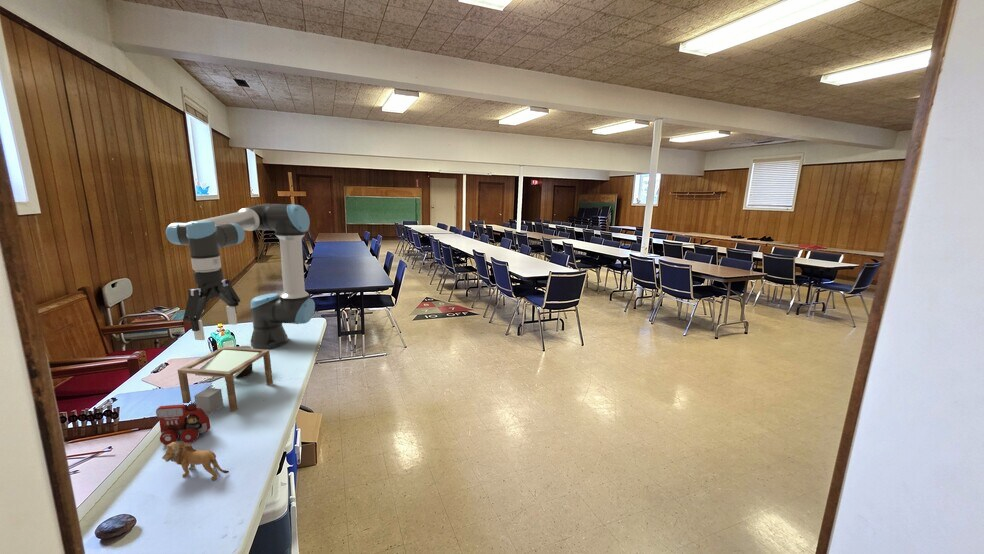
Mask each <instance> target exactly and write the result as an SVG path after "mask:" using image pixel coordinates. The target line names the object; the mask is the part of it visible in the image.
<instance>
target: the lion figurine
mask: <svg viewBox="0 0 984 554" xmlns="http://www.w3.org/2000/svg"><path fill="white" fill-rule="evenodd" d="M165 446H166V450H165V453H164V454H163V456H162V457H161V459H162V460H164V461H165V462H166V463H167V462H169V461H171V462H174V463H175V464H176V465H180V466H181V468H182V470H183V472H184V473H182V476H181V477H182V478H187V477H188V476H189V475H190V473H191V472H190V470H191V471H192V470H194V469H196V465H197V466H199V465H200V466H202V467H203V469H204V470H205V472H208V473H209V474H210V475H211V477H210V479H211V481H216V480H217V479H218V473H217V472H216V471H217V470H218V471H219V472H221V473H223V474H229V473H230V471H229V470H226V469H225V470H224V469H222V468H221V467H220V464H219V463H218V460H217V456H216V453H215V452H214V451H212V450H211V449H207V450H204V449H203V450H200V449H195V448H194V447H193V446H192V445H191V444H190V443H185V442H183V441H176V442H172V443H170V444H168V445H165Z"/></svg>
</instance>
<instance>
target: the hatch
mask: <svg viewBox="0 0 984 554" xmlns="http://www.w3.org/2000/svg"><path fill="white" fill-rule="evenodd" d="M259 353H260V352H247V351H234V350H222V351H221V352H220V353H219V354H217V355H216V356H214V357H212V358H210V359H209V361H207V362H205V364H204V365H202V366H201V367H200V368H199V369H204V370H216V371H228V372H229V371H230V370H232V369H234V368H235V367H237V366H239V365H240V364H242V363H244V362H245V361H247V360H249V359H251V358H252V357H254V356H256V355H257V354H259ZM245 368H246V367H245ZM245 368H243V369H242V370H240V371H238V372H237V373H235V374H233V378H234V379H236V378H235V377H236V376H237V375H239V374H240V373H241V372H242V371H243V370H244V369H245ZM194 376H199V377H212V378H223V379H225V377H224V376H212V375H201V374H194Z"/></svg>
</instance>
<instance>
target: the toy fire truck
mask: <svg viewBox="0 0 984 554" xmlns="http://www.w3.org/2000/svg"><path fill="white" fill-rule="evenodd" d="M196 407H197V406H196V403H195V402H191V404H189V405H188V406H187V405H184V404H183V403H182V404H172V405H171V404H170V405H161V406H159V407H157V408H156V410H155V414H156V417H157V418H158V422H159V427H160V435H159V441H160V443H161V444H162V445H165V446H166V445H168V444H170V443H172V442H178V439H179V438H180V441H181V442H184V443H187V444H192V443H194V442H195V441H196V440H197V439H198V438H199V433H207V432H208V431H209V430H211V420H210V417H209V416H208V415H207V413H205V412H204V411H203V410H202V409H201V408H196ZM179 435H180V437H179Z"/></svg>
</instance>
